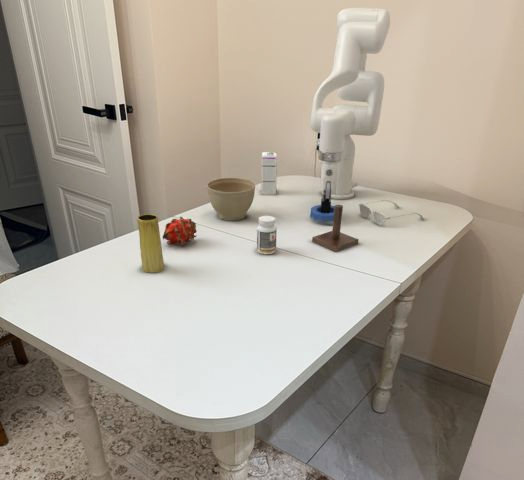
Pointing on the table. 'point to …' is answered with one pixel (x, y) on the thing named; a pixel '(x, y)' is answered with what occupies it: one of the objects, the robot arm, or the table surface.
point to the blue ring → (320, 216)
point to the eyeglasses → (378, 216)
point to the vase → (150, 243)
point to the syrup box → (269, 173)
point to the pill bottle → (266, 235)
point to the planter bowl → (231, 197)
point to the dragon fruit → (179, 231)
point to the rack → (335, 234)
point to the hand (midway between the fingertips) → (325, 210)
